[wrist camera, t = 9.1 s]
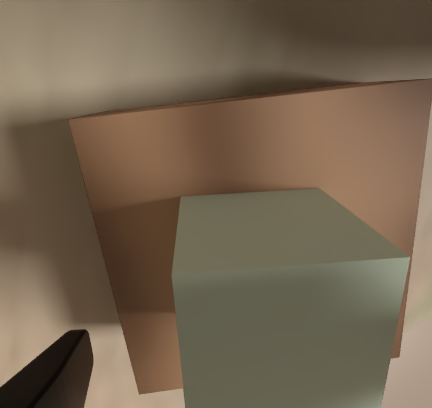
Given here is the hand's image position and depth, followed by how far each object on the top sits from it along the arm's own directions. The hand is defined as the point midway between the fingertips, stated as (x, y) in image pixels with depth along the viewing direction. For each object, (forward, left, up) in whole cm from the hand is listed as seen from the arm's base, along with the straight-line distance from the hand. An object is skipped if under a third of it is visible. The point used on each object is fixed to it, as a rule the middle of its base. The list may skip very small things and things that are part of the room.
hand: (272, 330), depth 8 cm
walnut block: (-1, +1, -9) cm, 9 cm away
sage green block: (0, 0, -4) cm, 4 cm away
